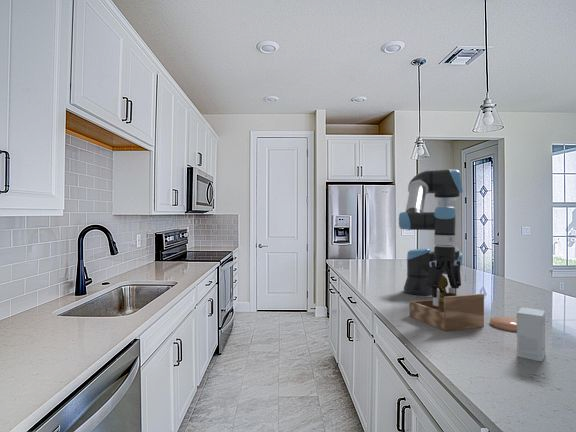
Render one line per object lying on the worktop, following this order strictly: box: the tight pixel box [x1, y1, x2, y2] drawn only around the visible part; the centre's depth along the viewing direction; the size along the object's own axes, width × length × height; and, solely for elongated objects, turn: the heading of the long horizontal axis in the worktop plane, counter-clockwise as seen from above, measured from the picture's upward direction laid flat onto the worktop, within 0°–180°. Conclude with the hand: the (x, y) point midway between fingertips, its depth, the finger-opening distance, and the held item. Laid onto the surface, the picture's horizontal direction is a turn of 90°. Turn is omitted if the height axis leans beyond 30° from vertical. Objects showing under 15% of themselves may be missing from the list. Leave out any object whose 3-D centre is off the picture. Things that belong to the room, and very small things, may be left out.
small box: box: [516, 306, 546, 362], centre depth 107 cm, size 8×6×13 cm
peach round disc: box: [489, 316, 517, 333], centre depth 136 cm, size 14×14×2 cm
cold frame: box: [409, 293, 485, 332], centre depth 142 cm, size 20×17×12 cm
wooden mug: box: [437, 274, 458, 312], centre depth 142 cm, size 9×14×18 cm, turn 3°
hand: (444, 304), depth 141 cm, fingers closed on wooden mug, 7 cm apart
